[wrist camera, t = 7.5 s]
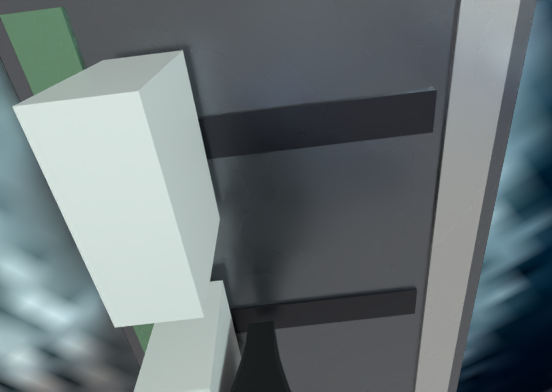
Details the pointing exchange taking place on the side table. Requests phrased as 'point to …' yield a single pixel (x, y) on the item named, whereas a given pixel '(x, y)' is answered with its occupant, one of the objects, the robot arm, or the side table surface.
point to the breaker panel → (326, 161)
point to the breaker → (131, 183)
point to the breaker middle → (193, 351)
